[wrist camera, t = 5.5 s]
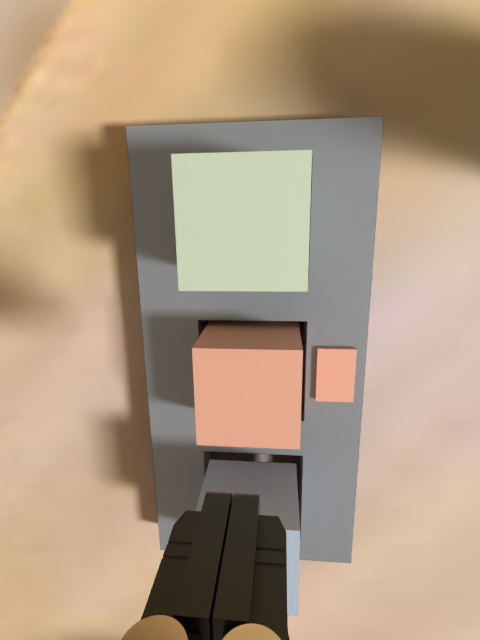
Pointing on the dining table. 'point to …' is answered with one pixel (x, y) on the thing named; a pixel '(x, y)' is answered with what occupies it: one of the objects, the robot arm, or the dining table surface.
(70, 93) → the dining table surface
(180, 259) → the sage block
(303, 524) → the slate board
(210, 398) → the terracotta block
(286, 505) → the slate-blue block
